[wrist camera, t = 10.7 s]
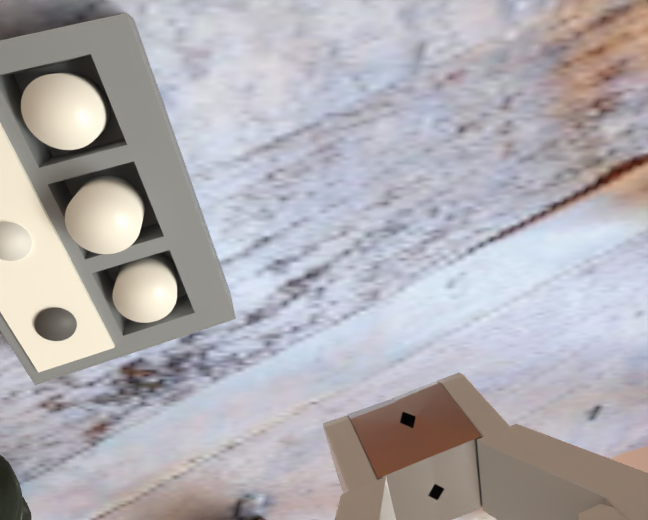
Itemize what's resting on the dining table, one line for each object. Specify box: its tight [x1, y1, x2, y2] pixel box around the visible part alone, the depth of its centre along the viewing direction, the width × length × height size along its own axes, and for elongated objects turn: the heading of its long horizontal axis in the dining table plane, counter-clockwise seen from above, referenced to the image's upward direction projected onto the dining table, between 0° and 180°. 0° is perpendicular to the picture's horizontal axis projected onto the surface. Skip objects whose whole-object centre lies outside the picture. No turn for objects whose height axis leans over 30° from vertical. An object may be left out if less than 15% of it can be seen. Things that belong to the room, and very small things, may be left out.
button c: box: [112, 253, 177, 323], centre depth 32 cm, size 4×4×3 cm
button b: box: [65, 176, 145, 254], centre depth 28 cm, size 4×4×3 cm
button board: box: [0, 13, 236, 385], centre depth 30 cm, size 14×20×4 cm
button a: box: [21, 72, 110, 150], centre depth 27 cm, size 4×4×3 cm
